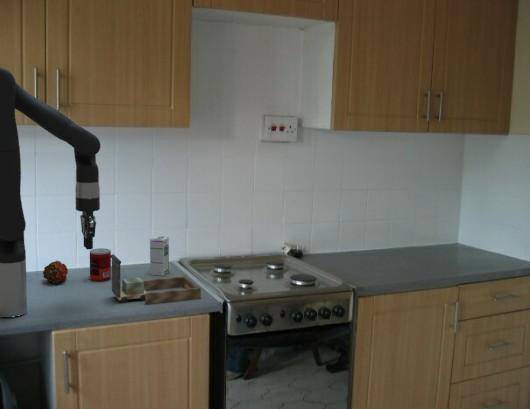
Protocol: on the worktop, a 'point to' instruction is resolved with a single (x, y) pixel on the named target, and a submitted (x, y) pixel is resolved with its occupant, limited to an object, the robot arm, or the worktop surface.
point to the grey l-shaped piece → (126, 284)
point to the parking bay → (173, 295)
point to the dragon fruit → (55, 272)
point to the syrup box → (159, 255)
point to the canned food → (100, 264)
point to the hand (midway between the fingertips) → (88, 247)
